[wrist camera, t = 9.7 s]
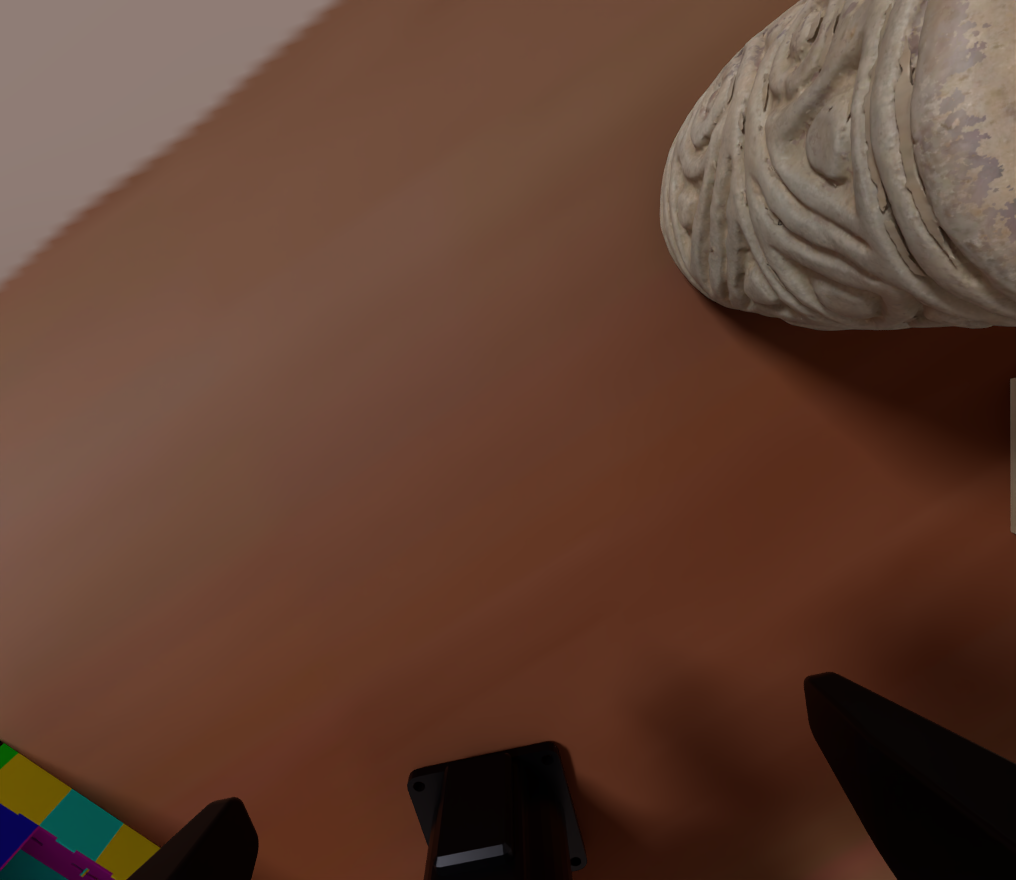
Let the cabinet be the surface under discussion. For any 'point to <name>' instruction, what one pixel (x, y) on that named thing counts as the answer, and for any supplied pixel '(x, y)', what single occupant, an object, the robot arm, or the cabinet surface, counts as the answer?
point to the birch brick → (1013, 452)
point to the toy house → (59, 829)
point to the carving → (856, 169)
